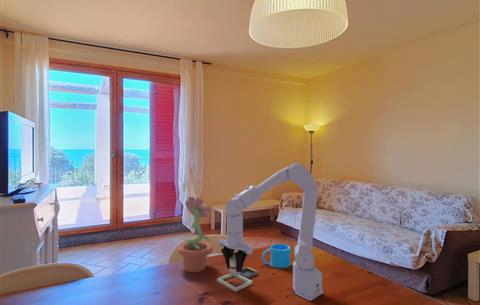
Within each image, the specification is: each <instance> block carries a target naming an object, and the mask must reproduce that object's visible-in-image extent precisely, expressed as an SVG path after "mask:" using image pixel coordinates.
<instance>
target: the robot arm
mask: <svg viewBox="0 0 480 305" xmlns="http://www.w3.org/2000/svg"><path fill="white" fill-rule="evenodd" d="M290 181H291V182H292V183H295V184H296V185H297V186H299V188H300V189H301V190H302V191H303V198H302V205H301V206H302V207H301V216H300V223H299V232H298V236H297V243H296V244H295V246H294V248H293V254H294V261H293V263H292V288H293V290H294V291H292V292H291V293H293V294H295V295H297V296H299V297H301V298H303V299H305V300H307V301H309V302H310V301H313V300H315V299H316V298H318V297H319V296H321V295H322V294H324V291H323V273H322V271H321V270H319V269H318V268H316V267H315V266H316V265H315V256H314V254H313V249H314V248H313V243H314V241H313V238H314V237H313V236H314V230H315V221H316V220H315V219H316V211H317V203H318V195H319V186H318V185H317V182H316V180H315V179H314V178H313V175H312V173H311V172H310V170H309V169H307V168H306V167H305V165H303V164H302V163H299V162H294V163H291V165H289V166H287V167H283V168H282V169H280V170H278V171H276V172H274V174H272V175H271V176H269V177H268V178H267V179H266V180H264V181H263V182H261V183H259V185H250V186H249V185H247V186H246V187H245V189H244V190H243V191H242V192H239V193H236V194H234V197H233V198H231V199H229V200H228V201H227V203H226V205H225V210H226V213H227V216H226V239H223V238H221V239H218V242H217V243H218V246H220V247H221V246H222V248H221V249H220V250H221V251H220V252H221V253H222V255H223V257H224V260H225V264H226V269H228V270H229V264H230V261H229V258H230V257H232V256H235V259H236V270H237V272H240V271H242V269H243V267H244V264H245V260H246V259H247V256H248V255H249V256H250V255H252V254H253V247H251V246H249V245H247V244H245V243H244V240H243V239H244V235H243V234H244V232H243V231H244V230H243V229H244V227H243V226H244V218H243V211H244V210H245V209H248V208H250V207H251V206H252V205H254V204H256V203H257V202H259V201H261V199H262V195H263V194H264V193H266V192H267V191H269V190H270V189H272V188H273V187H275V186H276V185H279V184H280V183H289V182H290ZM235 251H236V252H235Z"/></svg>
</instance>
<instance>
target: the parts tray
mask: <svg viewBox="0 0 480 305" xmlns="http://www.w3.org/2000/svg"><path fill="white" fill-rule="evenodd" d="M234 277H235V278H237V279H239V280H241V281H242V282H243V281H244V283H243V284H240V285H237V286H234V285H232V284H231V283H229V282H227V281H225V280H226V279H229V278H233V276H231V275H230V274H229V273H227V274H225V275H223V276H220V277H217V279H216V280H217V282H218V283H219V284H221V285H223V286H225V287H226V288H228V289H230V290H232V291H233V292H238V291H240V290H242V289H244V288H247V287H249V286H252V285H253V280H251V279H250V278H249V279H247V278H245V277H243V276H241V275H238V276H234Z"/></svg>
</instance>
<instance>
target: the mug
mask: <svg viewBox="0 0 480 305" xmlns="http://www.w3.org/2000/svg"><path fill="white" fill-rule="evenodd" d="M269 252H270V262H267V261H266V259H265V255H266V253H269ZM261 260H262V262H263V263H264V264H265V265H268V266H269V265H270V266H272V267H274V268H278V269H285V268H286V269H287V268H289V267H290V266H291V246H290V245H288V244H283V243H275V244H271V245H270V248H268V249H265V251H263V252H262V255H261Z"/></svg>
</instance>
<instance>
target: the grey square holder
mask: <svg viewBox="0 0 480 305" xmlns="http://www.w3.org/2000/svg"><path fill="white" fill-rule="evenodd" d="M240 275H241V276H243V277H245V278H247V279H249V280H250V278H253V277H256V276H258V275H259V272H258V271H257V270H256V269H254V268H251V267H249V266H246V267H244V268H243V267H242V271H240Z"/></svg>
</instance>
